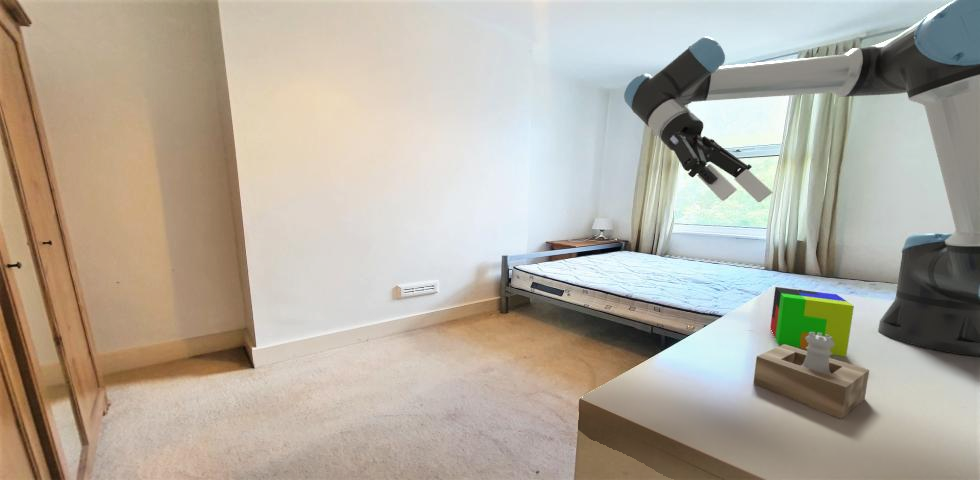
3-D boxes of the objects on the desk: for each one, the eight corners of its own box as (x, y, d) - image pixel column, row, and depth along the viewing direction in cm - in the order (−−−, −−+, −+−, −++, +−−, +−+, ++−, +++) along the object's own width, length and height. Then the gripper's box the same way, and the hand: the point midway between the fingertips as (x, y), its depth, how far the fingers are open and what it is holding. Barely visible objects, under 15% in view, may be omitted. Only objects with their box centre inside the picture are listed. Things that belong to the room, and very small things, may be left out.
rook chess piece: (843, 395, 49) (851, 342, 48) (809, 392, 49) (816, 340, 48) (817, 379, 53) (824, 330, 52) (786, 376, 54) (792, 328, 53)
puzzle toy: (829, 339, 73) (836, 294, 71) (846, 356, 64) (853, 305, 63) (770, 329, 78) (775, 286, 77) (778, 344, 70) (784, 296, 68)
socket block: (780, 369, 58) (784, 344, 58) (864, 398, 50) (869, 369, 49) (753, 383, 54) (756, 356, 53) (841, 419, 45) (846, 387, 44)
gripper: (694, 146, 82) (761, 210, 71) (626, 134, 69) (693, 209, 58) (720, 119, 77) (796, 184, 65) (651, 100, 64) (731, 177, 53)
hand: (748, 196), depth 62 cm, fingers open, 13 cm apart
